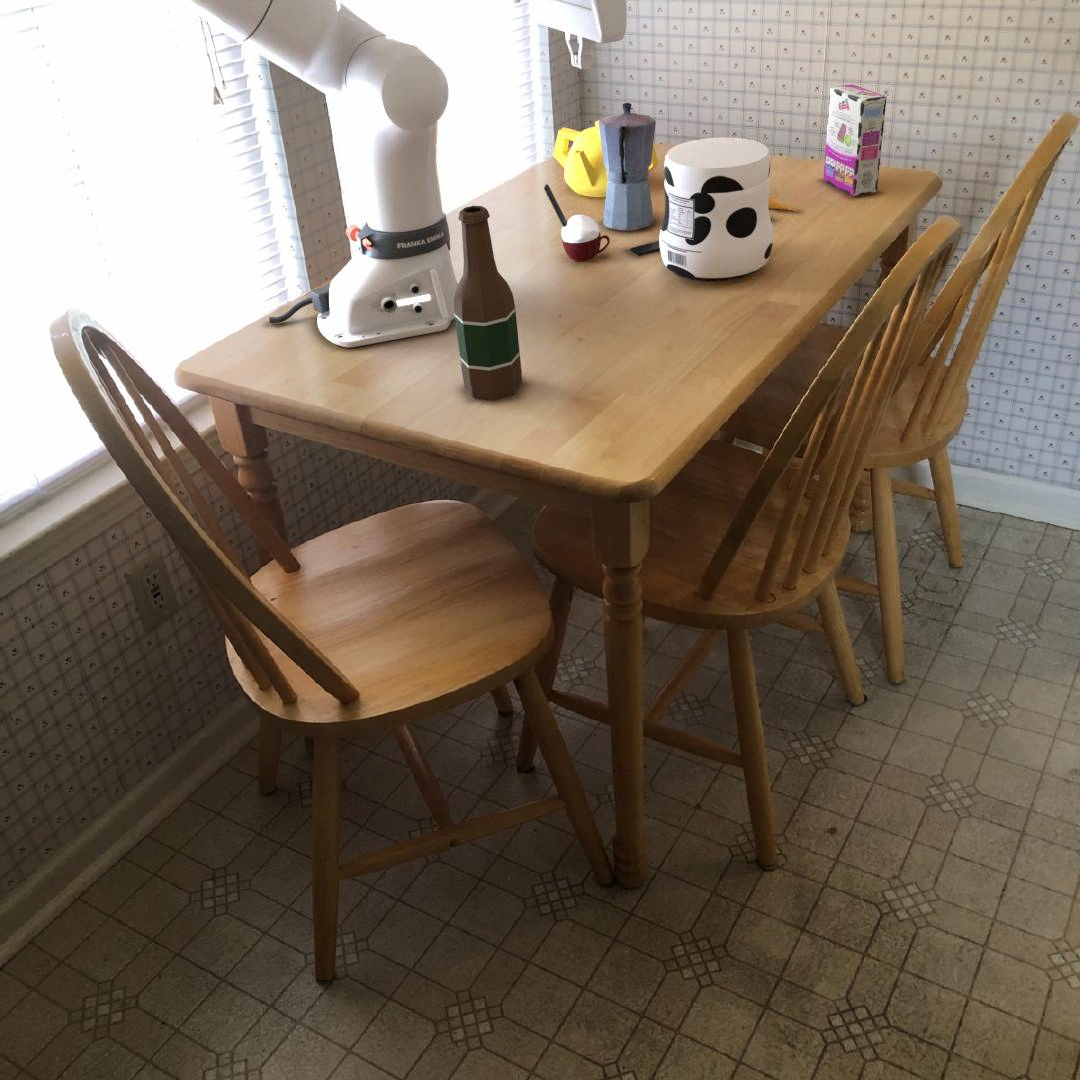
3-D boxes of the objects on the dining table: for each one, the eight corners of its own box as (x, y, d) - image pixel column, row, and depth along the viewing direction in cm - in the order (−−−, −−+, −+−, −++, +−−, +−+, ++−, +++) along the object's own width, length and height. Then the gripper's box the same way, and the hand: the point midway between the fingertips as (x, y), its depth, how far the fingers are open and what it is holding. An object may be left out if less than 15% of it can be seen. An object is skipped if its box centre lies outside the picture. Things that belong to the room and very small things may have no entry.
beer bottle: (522, 372, 151) (505, 195, 137) (523, 399, 145) (505, 217, 131) (465, 377, 151) (442, 201, 137) (463, 404, 145) (439, 223, 131)
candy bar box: (879, 193, 197) (888, 96, 188) (853, 198, 196) (862, 100, 187) (846, 175, 206) (853, 82, 197) (821, 180, 205) (828, 86, 196)
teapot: (662, 192, 206) (661, 126, 200) (574, 206, 204) (570, 139, 197) (634, 167, 220) (633, 104, 213) (552, 180, 217) (548, 116, 211)
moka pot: (658, 208, 200) (656, 91, 188) (656, 239, 187) (654, 116, 176) (604, 210, 201) (599, 94, 189) (599, 242, 188) (594, 119, 177)
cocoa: (614, 254, 183) (611, 181, 176) (594, 268, 179) (590, 194, 172) (566, 246, 188) (561, 175, 181) (545, 259, 184) (539, 186, 177)
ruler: (639, 255, 182) (639, 253, 182) (630, 250, 184) (630, 247, 184) (771, 220, 190) (771, 218, 190) (761, 216, 193) (761, 213, 192)
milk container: (775, 248, 180) (780, 134, 170) (768, 292, 166) (773, 170, 156) (668, 247, 184) (666, 135, 174) (652, 289, 170) (649, 171, 160)
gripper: (521, -45, 158) (530, 59, 166) (590, -30, 142) (596, 83, 150) (561, -52, 160) (567, 51, 168) (633, -38, 144) (636, 75, 152)
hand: (581, 67), depth 159 cm, fingers closed
